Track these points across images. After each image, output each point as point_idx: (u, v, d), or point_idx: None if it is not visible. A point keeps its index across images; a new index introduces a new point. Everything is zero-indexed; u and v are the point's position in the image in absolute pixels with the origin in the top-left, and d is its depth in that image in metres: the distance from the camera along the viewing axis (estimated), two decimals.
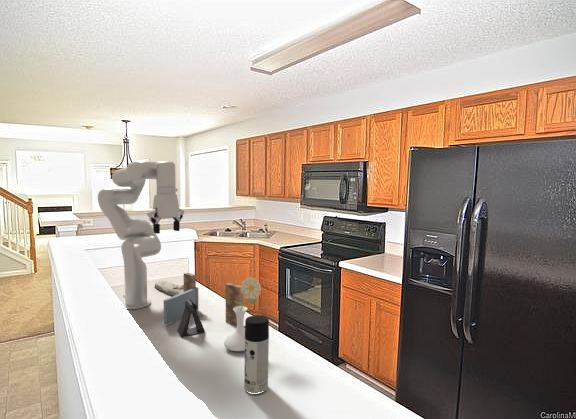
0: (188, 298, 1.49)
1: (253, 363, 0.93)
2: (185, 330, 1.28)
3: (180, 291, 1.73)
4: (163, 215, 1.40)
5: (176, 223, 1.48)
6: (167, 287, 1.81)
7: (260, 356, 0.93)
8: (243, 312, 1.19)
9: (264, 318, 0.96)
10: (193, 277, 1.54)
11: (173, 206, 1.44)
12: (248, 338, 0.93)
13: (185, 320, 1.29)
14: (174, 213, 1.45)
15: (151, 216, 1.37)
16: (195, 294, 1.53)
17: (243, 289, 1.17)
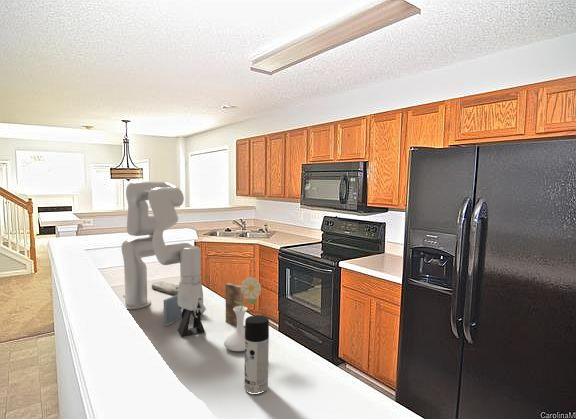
0: None
1: (253, 363, 0.93)
2: (185, 330, 1.28)
3: None
4: None
5: None
6: (168, 287, 1.80)
7: (260, 356, 0.93)
8: (243, 312, 1.19)
9: (264, 318, 0.96)
10: None
11: None
12: (248, 338, 0.93)
13: (185, 320, 1.29)
14: None
15: None
16: None
17: (243, 289, 1.17)
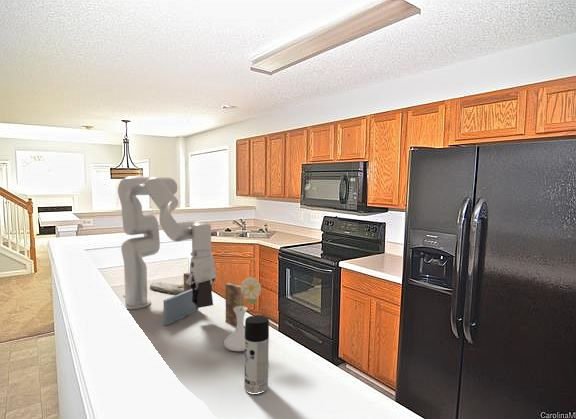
0: (188, 298, 1.49)
1: (253, 363, 0.93)
2: None
3: None
4: None
5: None
6: (169, 287, 1.80)
7: (260, 356, 0.93)
8: (243, 312, 1.19)
9: (264, 318, 0.96)
10: None
11: None
12: (248, 338, 0.93)
13: (208, 290, 1.40)
14: None
15: None
16: None
17: (243, 289, 1.17)
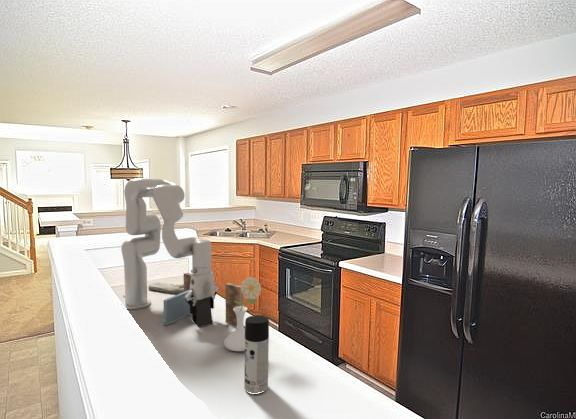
0: None
1: (253, 363, 0.93)
2: None
3: None
4: None
5: None
6: (169, 287, 1.80)
7: (260, 356, 0.93)
8: (243, 312, 1.19)
9: (264, 318, 0.96)
10: None
11: None
12: (248, 338, 0.93)
13: (207, 309, 1.41)
14: None
15: None
16: None
17: (243, 289, 1.17)
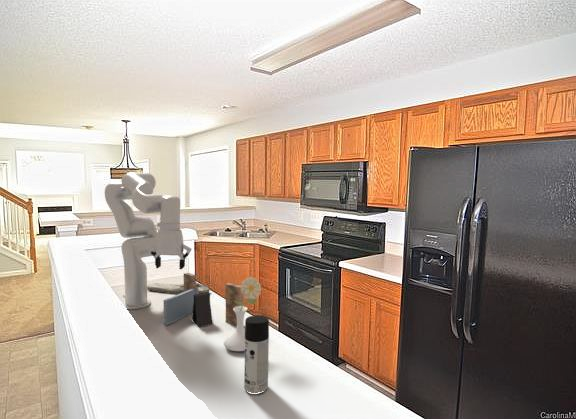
0: (188, 298, 1.49)
1: (253, 363, 0.93)
2: None
3: None
4: None
5: (159, 259, 1.41)
6: (170, 287, 1.80)
7: (260, 356, 0.93)
8: (243, 312, 1.19)
9: (264, 318, 0.96)
10: (193, 277, 1.54)
11: None
12: (248, 338, 0.93)
13: (207, 309, 1.41)
14: None
15: None
16: None
17: (243, 289, 1.17)
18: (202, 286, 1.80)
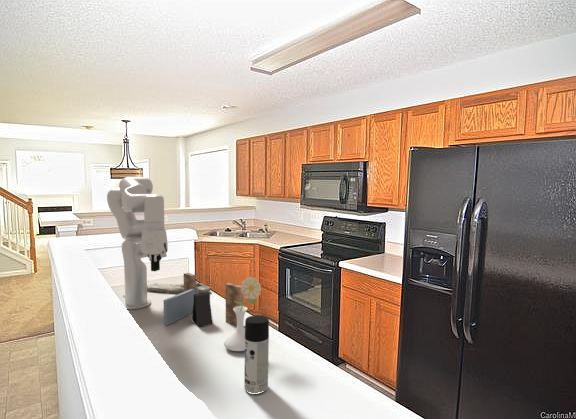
0: (188, 298, 1.49)
1: (253, 363, 0.93)
2: None
3: None
4: None
5: None
6: (170, 287, 1.80)
7: (260, 356, 0.93)
8: (243, 312, 1.19)
9: (264, 318, 0.96)
10: (193, 277, 1.54)
11: None
12: (248, 338, 0.93)
13: (207, 309, 1.41)
14: None
15: None
16: None
17: (243, 289, 1.17)
18: (203, 285, 1.82)
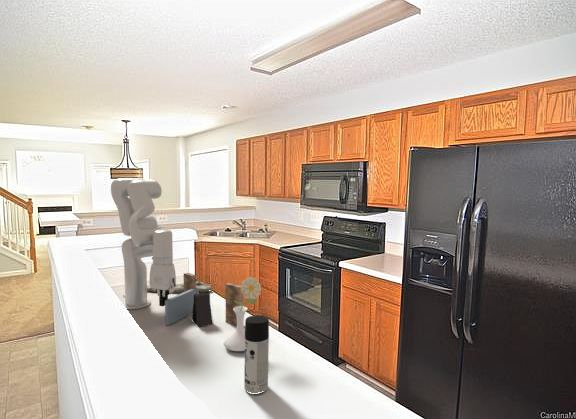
0: (188, 298, 1.48)
1: (253, 363, 0.93)
2: None
3: None
4: None
5: None
6: None
7: (260, 356, 0.93)
8: (243, 312, 1.19)
9: (264, 318, 0.96)
10: (193, 277, 1.54)
11: None
12: (248, 338, 0.93)
13: (207, 309, 1.41)
14: None
15: None
16: None
17: (243, 289, 1.17)
18: (204, 284, 1.84)
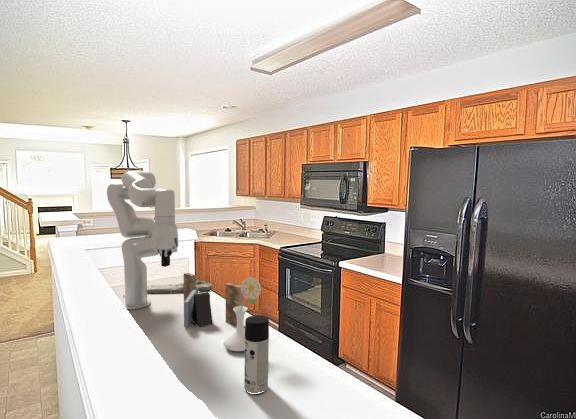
0: None
1: (253, 363, 0.93)
2: None
3: None
4: None
5: None
6: (171, 287, 1.81)
7: (260, 356, 0.93)
8: (243, 312, 1.19)
9: (264, 318, 0.96)
10: (193, 277, 1.54)
11: None
12: (248, 338, 0.93)
13: (207, 309, 1.41)
14: None
15: None
16: None
17: (243, 289, 1.17)
18: (204, 283, 1.87)
